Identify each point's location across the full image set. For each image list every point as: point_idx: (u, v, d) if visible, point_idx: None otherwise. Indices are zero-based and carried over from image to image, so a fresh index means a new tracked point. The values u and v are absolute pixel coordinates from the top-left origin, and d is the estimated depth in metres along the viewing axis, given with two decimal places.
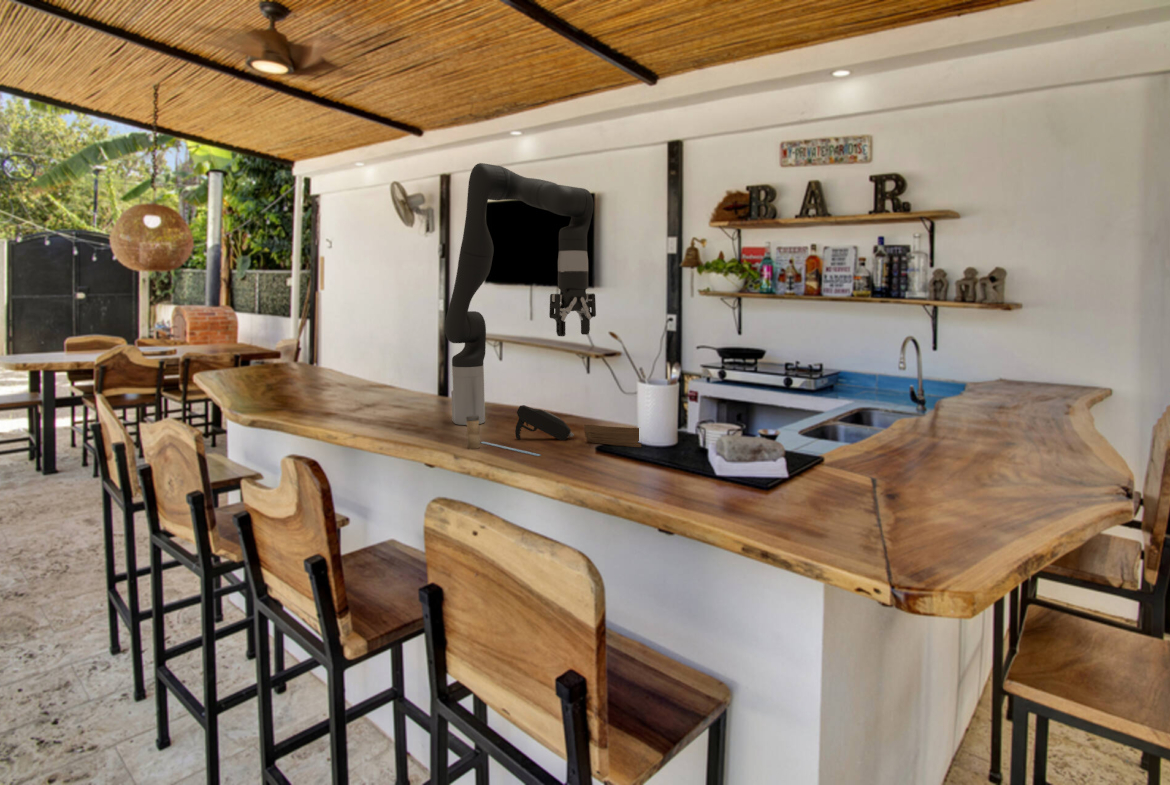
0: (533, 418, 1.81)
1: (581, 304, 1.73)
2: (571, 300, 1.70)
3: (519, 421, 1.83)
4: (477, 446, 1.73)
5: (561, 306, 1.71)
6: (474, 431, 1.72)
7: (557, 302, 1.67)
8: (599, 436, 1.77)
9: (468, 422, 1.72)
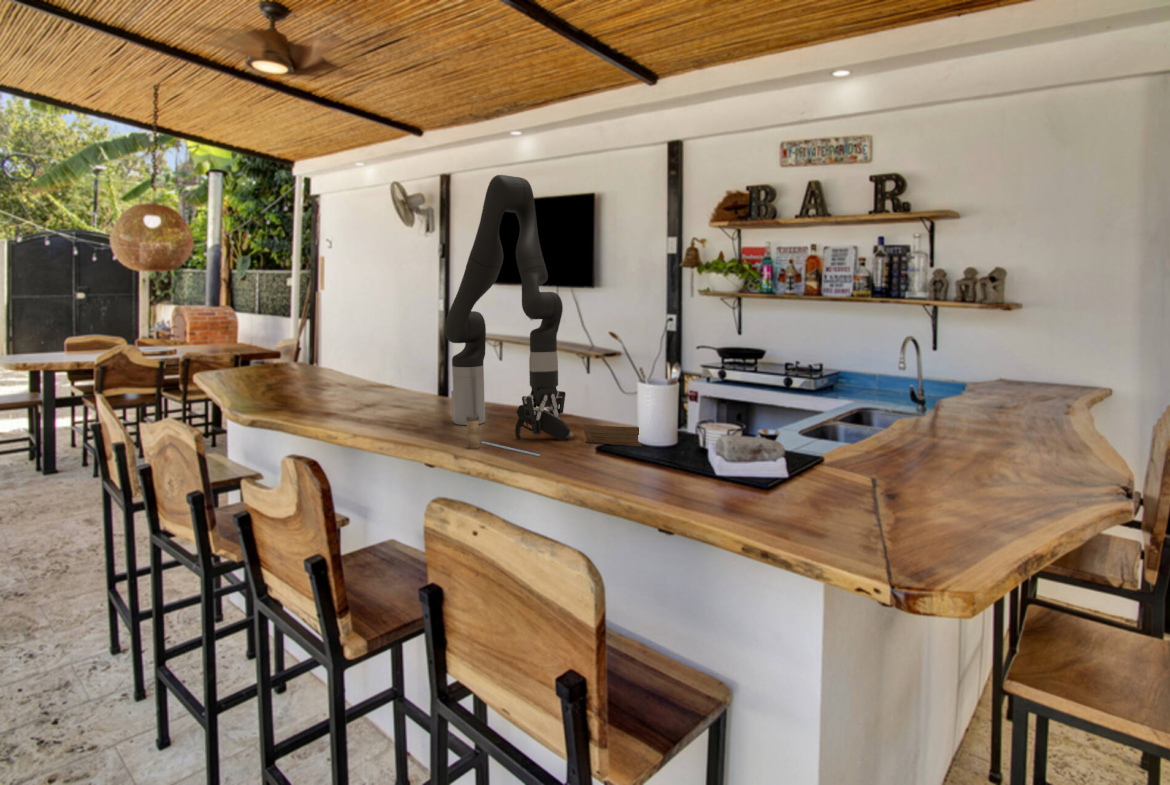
0: None
1: (551, 400, 1.82)
2: (542, 399, 1.79)
3: (519, 420, 1.83)
4: (477, 446, 1.73)
5: (534, 404, 1.81)
6: (474, 431, 1.72)
7: (529, 405, 1.77)
8: (599, 436, 1.77)
9: (468, 422, 1.72)
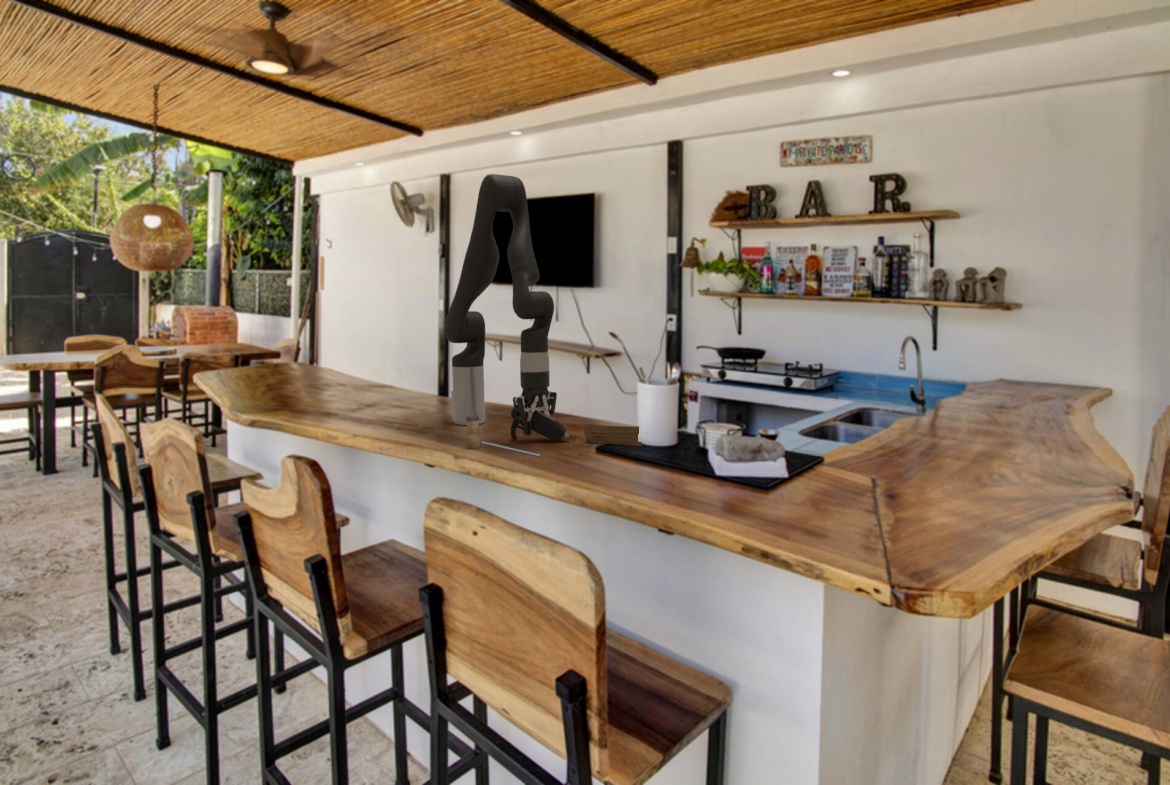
0: None
1: (542, 401, 1.80)
2: (533, 400, 1.77)
3: (514, 422, 1.81)
4: (477, 446, 1.73)
5: (525, 405, 1.79)
6: (474, 431, 1.72)
7: (520, 406, 1.75)
8: (599, 435, 1.77)
9: (468, 422, 1.72)
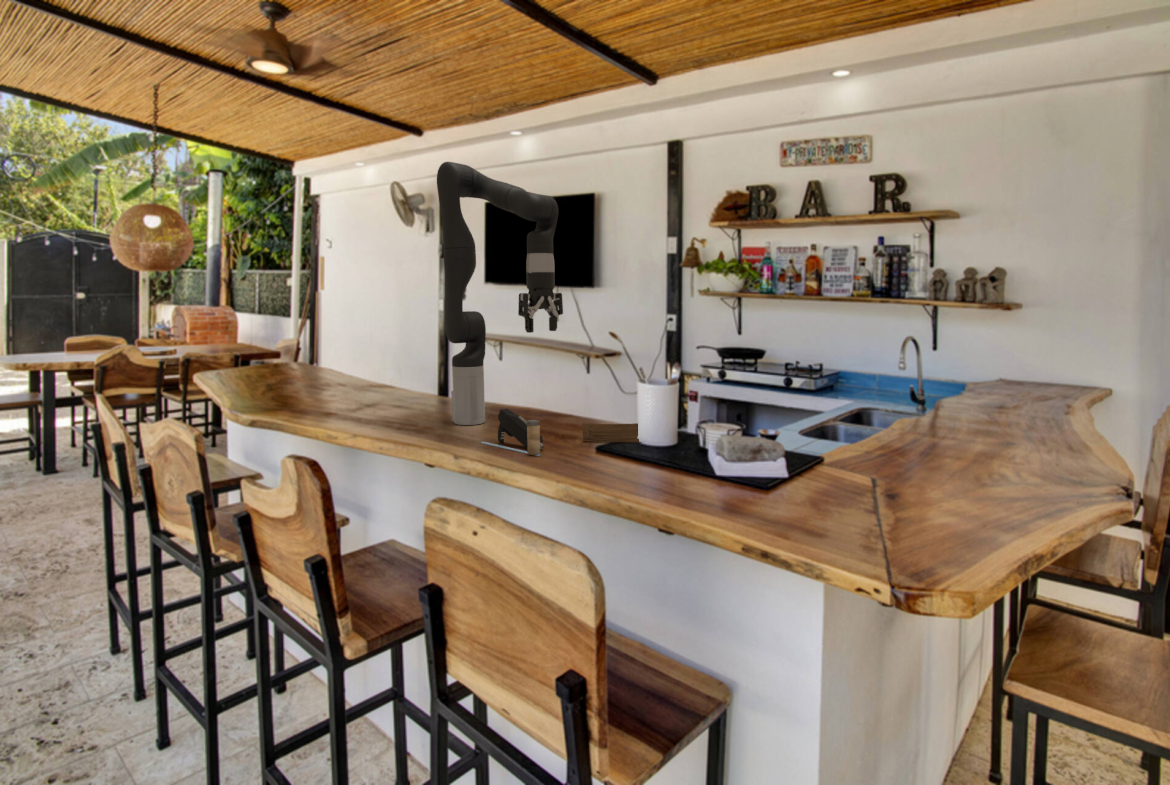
0: (508, 423, 1.75)
1: (548, 303, 1.86)
2: (538, 299, 1.83)
3: (500, 424, 1.78)
4: (538, 452, 1.65)
5: (529, 304, 1.85)
6: (535, 437, 1.64)
7: (525, 301, 1.81)
8: (598, 434, 1.79)
9: (529, 427, 1.64)
